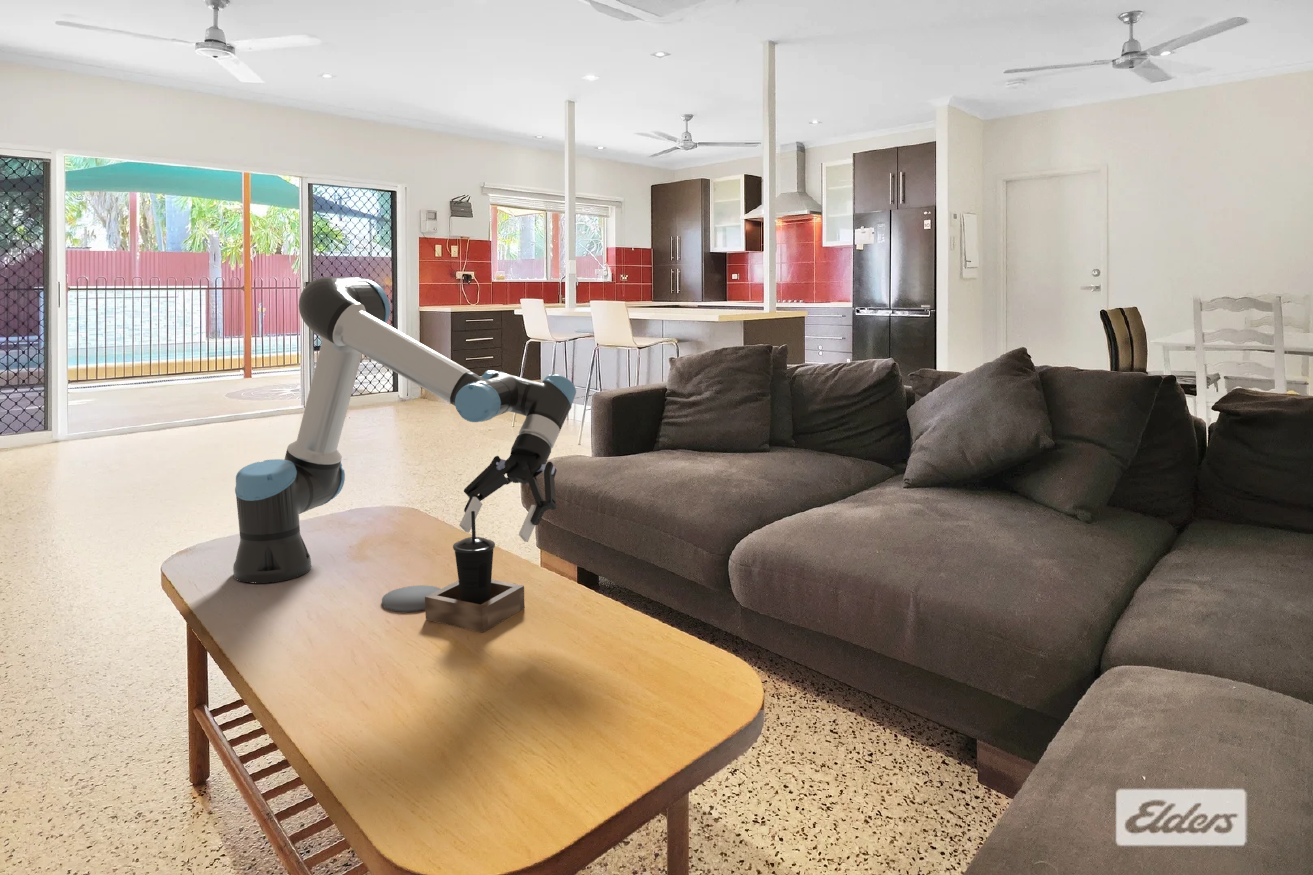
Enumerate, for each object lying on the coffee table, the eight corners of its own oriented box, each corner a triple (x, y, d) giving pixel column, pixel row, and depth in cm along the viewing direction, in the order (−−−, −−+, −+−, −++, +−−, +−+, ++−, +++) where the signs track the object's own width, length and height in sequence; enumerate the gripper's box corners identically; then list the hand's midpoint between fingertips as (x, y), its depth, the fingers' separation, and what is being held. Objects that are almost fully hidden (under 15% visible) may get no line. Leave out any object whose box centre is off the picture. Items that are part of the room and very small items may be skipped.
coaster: (368, 605, 160) (368, 601, 160) (411, 585, 170) (411, 581, 170) (417, 616, 155) (416, 612, 155) (458, 595, 165) (458, 591, 165)
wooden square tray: (425, 619, 153) (424, 596, 152) (470, 596, 165) (469, 575, 164) (482, 632, 148) (482, 608, 147) (524, 607, 159) (524, 585, 158)
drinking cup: (501, 607, 160) (499, 506, 156) (489, 622, 152) (487, 517, 148) (463, 605, 160) (459, 505, 157) (449, 620, 153) (445, 516, 149)
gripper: (595, 458, 165) (557, 551, 155) (492, 447, 176) (449, 534, 165) (581, 436, 160) (540, 532, 149) (476, 426, 170) (431, 515, 159)
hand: (493, 533), depth 157 cm, fingers open, 13 cm apart
